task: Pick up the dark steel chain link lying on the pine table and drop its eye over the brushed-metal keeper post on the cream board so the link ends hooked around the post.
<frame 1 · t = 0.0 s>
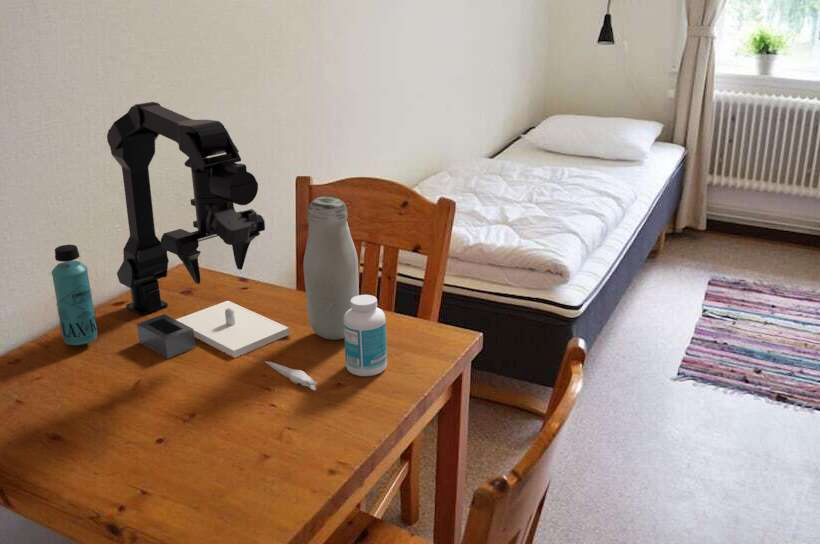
hand: (219, 276, 149), 15 cm above the table, fingers open, 9 cm apart
steel link: (167, 345, 155), on the table
white elongated figurine: (290, 378, 144), on the table
keeper board: (231, 330, 161), on the table
glass bottle: (334, 336, 158), on the table
beverage bottle: (82, 345, 156), on the table
pill bottle: (366, 369, 146), on the table
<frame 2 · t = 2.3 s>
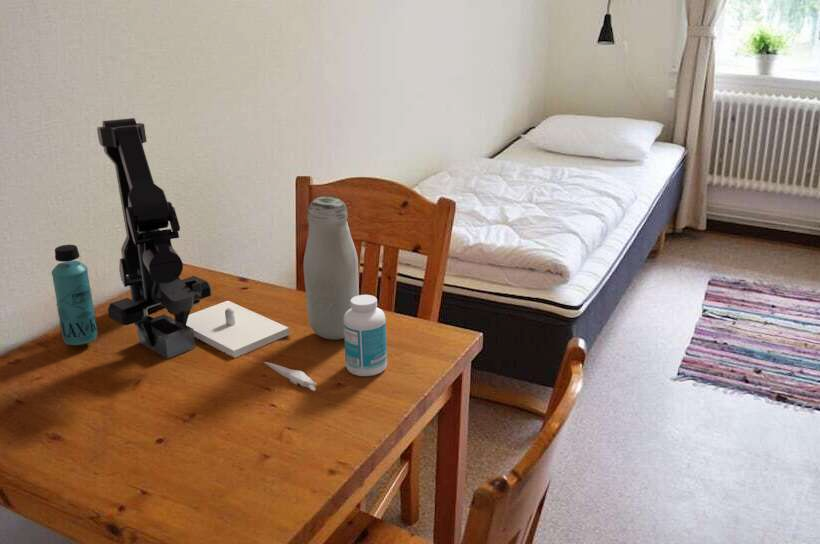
hand: (166, 340, 155), 1 cm above the table, fingers closed on steel link, 6 cm apart
steel link: (167, 345, 155), on the table, touching gripper
everything else where it was.
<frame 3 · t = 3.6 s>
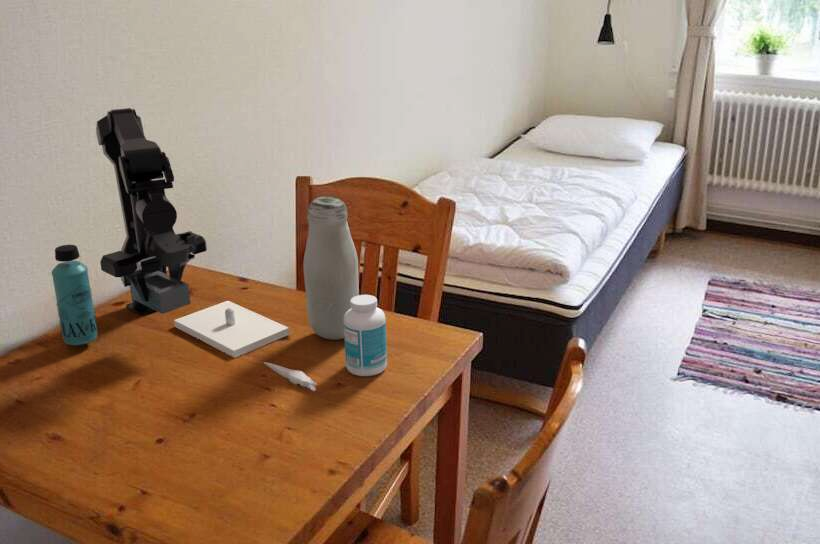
hand: (160, 296, 151), 10 cm above the table, fingers closed on steel link, 6 cm apart
steel link: (161, 301, 152), point 9 cm above the table, touching gripper
everything else where it was.
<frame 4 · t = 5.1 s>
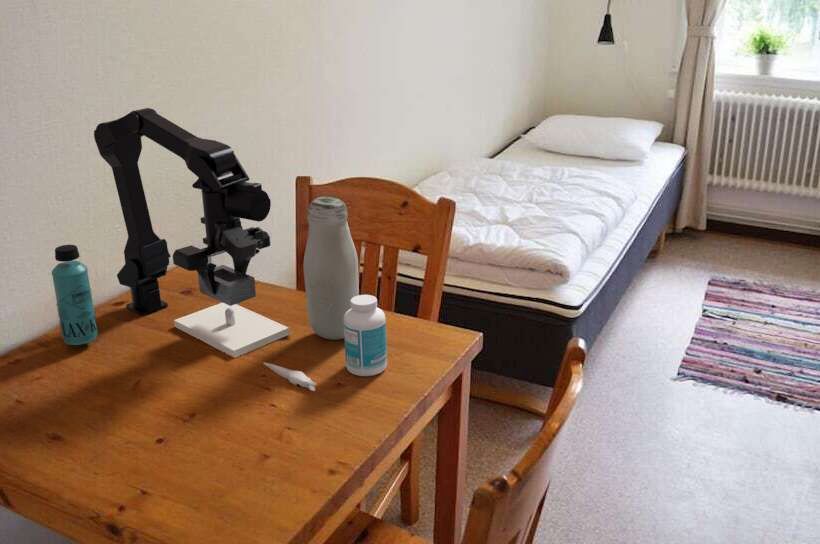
hand: (226, 289, 157), 9 cm above the table, fingers closed on steel link, 6 cm apart
steel link: (227, 294, 158), point 8 cm above the table, touching gripper
everything else where it was.
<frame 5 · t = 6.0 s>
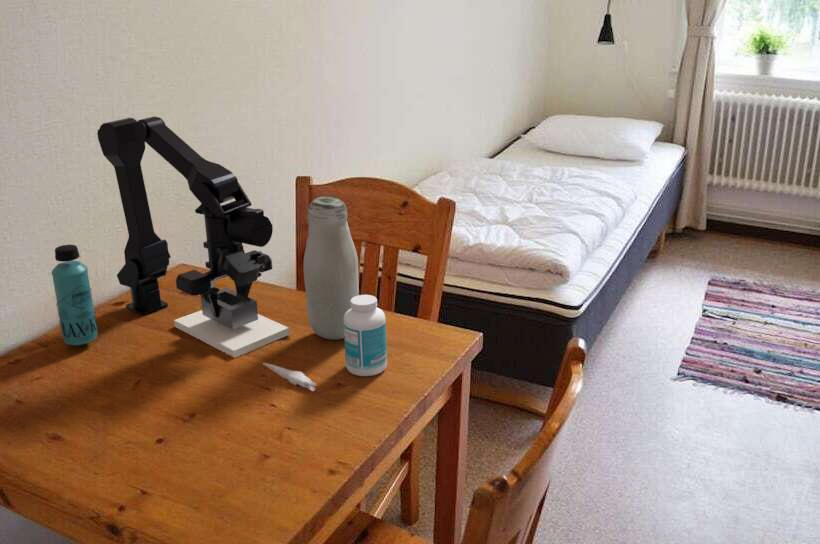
hand: (229, 312, 159), 4 cm above the table, fingers closed on steel link, 6 cm apart
steel link: (230, 317, 160), point 3 cm above the table, touching gripper
everything else where it was.
when the fingers open (4 cm above the table, at t = 6.4 s): steel link drops 1 cm, resting on keeper board.
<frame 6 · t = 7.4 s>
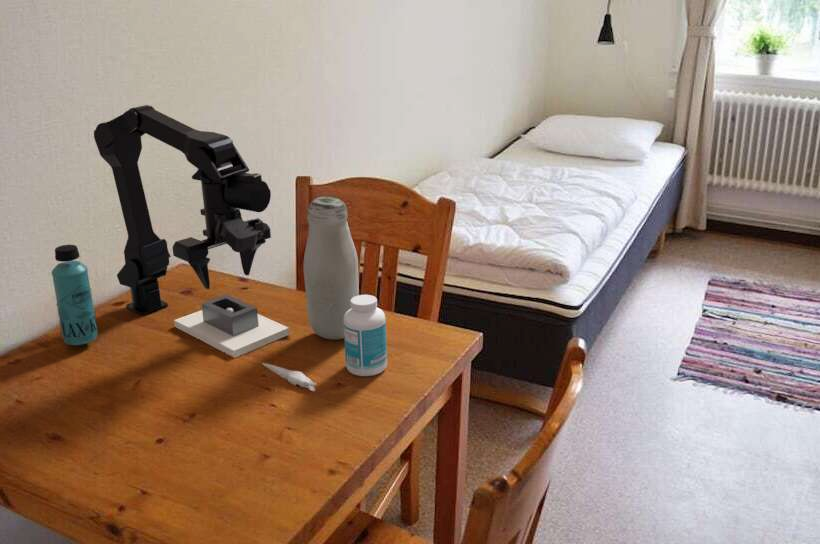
hand: (227, 281, 157), 11 cm above the table, fingers open, 9 cm apart
steel link: (230, 323, 160), point 1 cm above the table, touching keeper board
everything else where it was.
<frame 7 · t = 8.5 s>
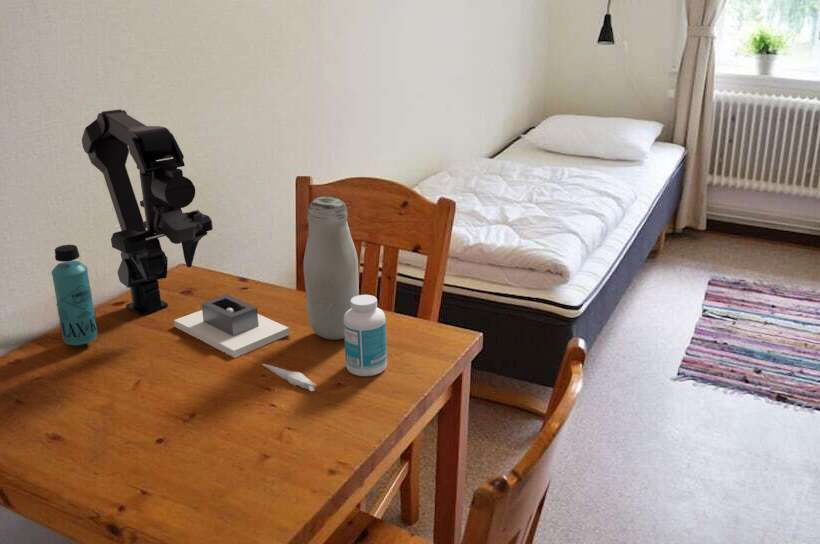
hand: (168, 273, 157), 12 cm above the table, fingers open, 9 cm apart
nothing on the table moved.
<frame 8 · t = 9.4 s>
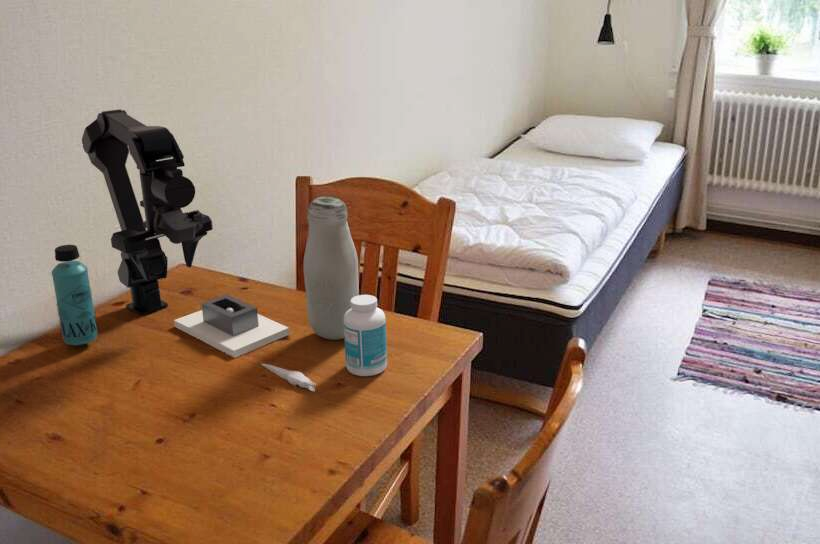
hand: (168, 273, 157), 12 cm above the table, fingers open, 9 cm apart
nothing on the table moved.
at the end: steel link 0.0 cm from the keeper board (horizontally); steel link point 1.5 cm above the table; the gripper is holding nothing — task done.
